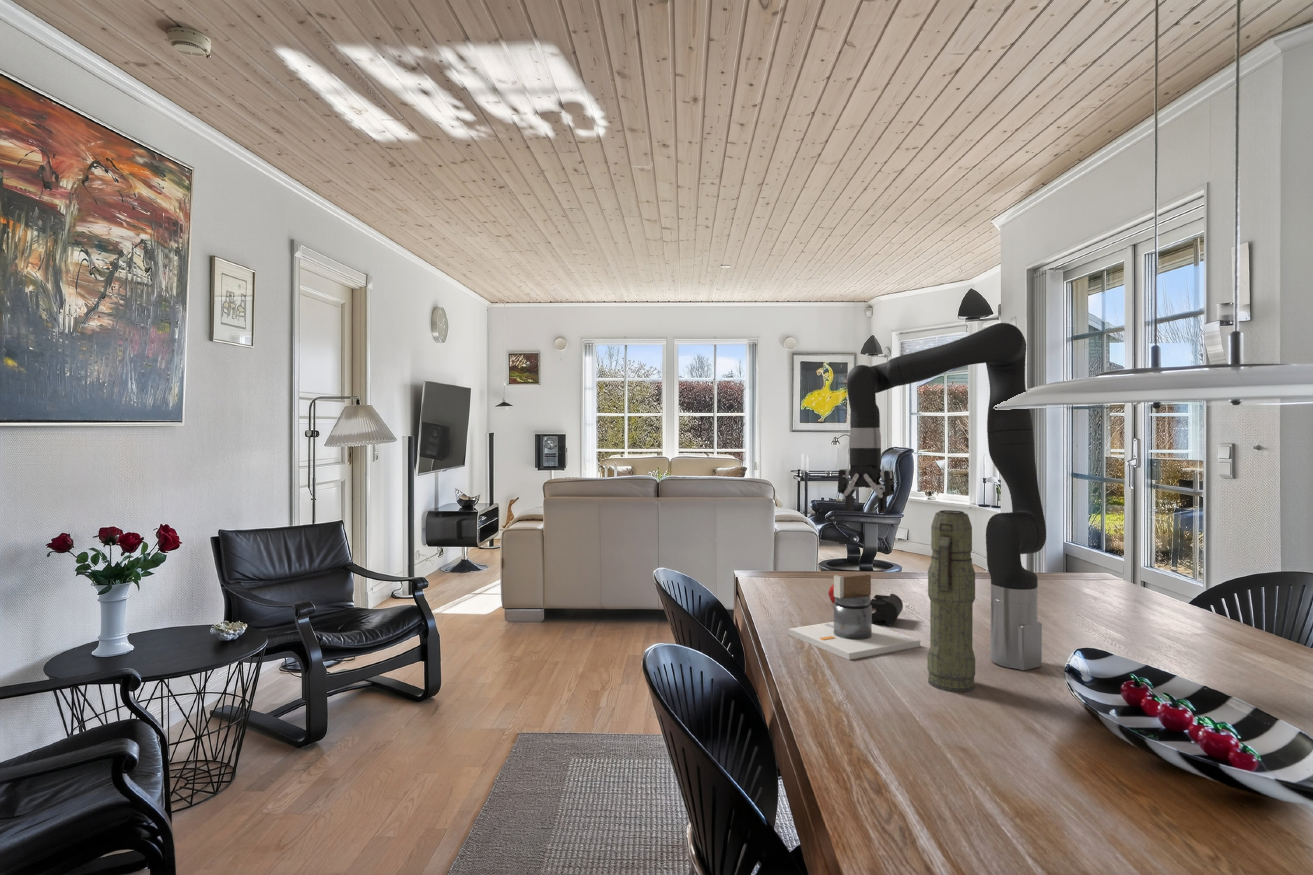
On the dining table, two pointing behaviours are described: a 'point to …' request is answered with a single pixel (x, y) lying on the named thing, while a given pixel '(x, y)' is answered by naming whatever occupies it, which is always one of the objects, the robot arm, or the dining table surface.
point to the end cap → (886, 609)
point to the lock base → (854, 646)
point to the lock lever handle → (852, 590)
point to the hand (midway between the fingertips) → (865, 512)
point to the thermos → (951, 603)
